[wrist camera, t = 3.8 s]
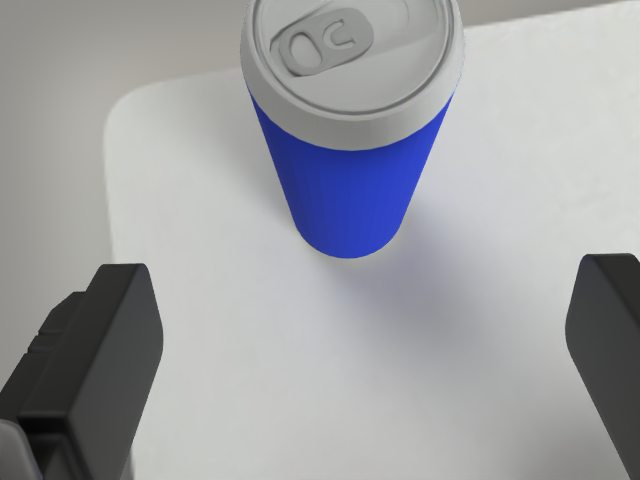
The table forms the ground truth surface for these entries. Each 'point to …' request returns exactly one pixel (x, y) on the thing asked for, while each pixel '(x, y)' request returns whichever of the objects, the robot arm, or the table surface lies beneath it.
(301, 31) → the beverage can
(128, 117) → the table surface
